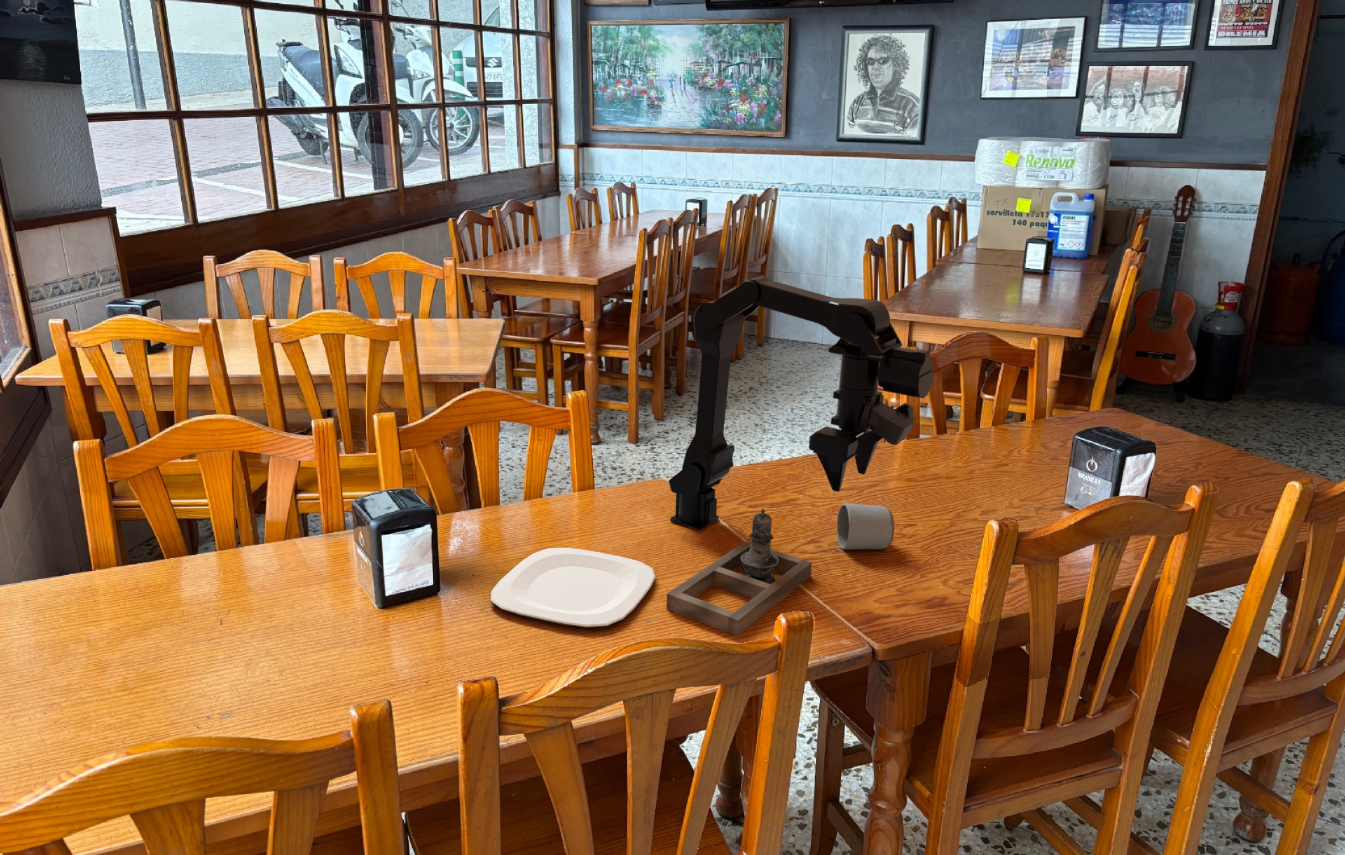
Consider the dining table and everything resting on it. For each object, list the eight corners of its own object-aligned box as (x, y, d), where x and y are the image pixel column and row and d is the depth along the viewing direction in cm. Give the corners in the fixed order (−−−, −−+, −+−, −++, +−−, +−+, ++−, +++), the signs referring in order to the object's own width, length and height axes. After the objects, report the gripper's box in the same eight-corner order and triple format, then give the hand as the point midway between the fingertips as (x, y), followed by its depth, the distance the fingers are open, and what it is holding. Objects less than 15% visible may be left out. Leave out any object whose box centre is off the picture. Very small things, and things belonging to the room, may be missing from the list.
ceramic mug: (894, 556, 151) (899, 513, 149) (845, 557, 150) (850, 513, 148) (874, 530, 161) (879, 489, 159) (829, 530, 160) (832, 489, 158)
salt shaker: (736, 571, 145) (740, 500, 141) (773, 570, 145) (778, 500, 141) (742, 589, 139) (746, 516, 135) (780, 588, 140) (786, 516, 136)
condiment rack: (666, 608, 133) (666, 593, 132) (744, 554, 150) (745, 541, 149) (737, 636, 127) (737, 620, 126) (810, 576, 144) (811, 562, 143)
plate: (667, 573, 144) (667, 564, 144) (614, 643, 125) (614, 632, 124) (542, 550, 151) (542, 540, 150) (473, 613, 131) (473, 602, 131)
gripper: (884, 410, 126) (872, 515, 131) (933, 382, 140) (921, 477, 145) (811, 395, 132) (803, 495, 137) (865, 369, 146) (856, 461, 151)
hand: (849, 482), depth 142 cm, fingers open, 9 cm apart
